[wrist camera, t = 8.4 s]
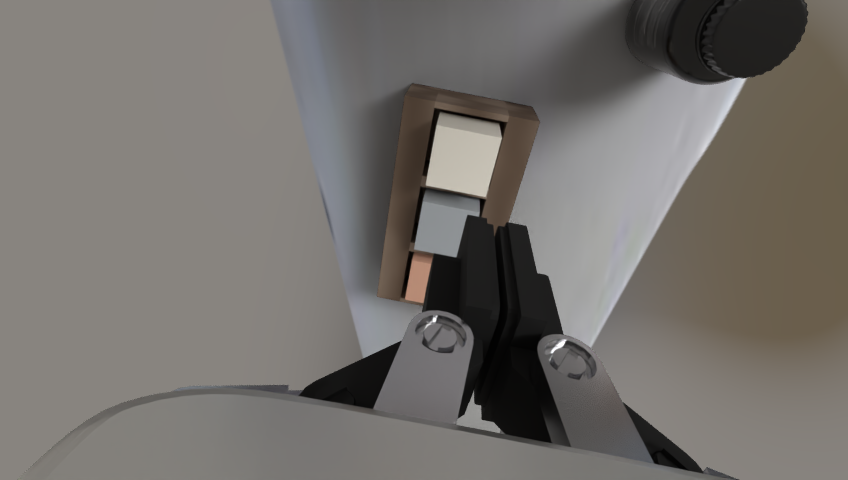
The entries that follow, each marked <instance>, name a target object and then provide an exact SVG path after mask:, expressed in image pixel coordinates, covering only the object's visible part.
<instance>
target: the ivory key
mask: <svg viewBox="0 0 848 480" xmlns="http://www.w3.org/2000/svg"><path fill="white" fill-rule="evenodd" d="M501 140H502V136H501V131H500V125H499V123H495V122H490V121H485V120H480V119H475V118H470V117H465V116H460V115H454V114H449V113H444V112H440V114H439V118H438V122H437V126H436V131H435V137H434V142H433V147H432V153H431V158H430V164H429V169H428V175H427V180H426V186H431V187H436V188H441V189H447V190H452V191H457V192H462V193H467V194H472V195H477V196H482V197H486V195H487V191H488V187H489V184H490V180H491V176H492V173H493V169H494V165H495V162H496V158H497V154H498V151H499V147H500V143H501Z"/></svg>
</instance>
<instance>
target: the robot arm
mask: <svg viewBox="0 0 848 480" xmlns="http://www.w3.org/2000/svg"><path fill="white" fill-rule="evenodd" d="M288 389H289V386H288V385H239V386H189V387H183V388H178V389H176V390H174V391H171V392H167V393H159V394H154V395H149V396H145V397H141V398H137V399H134V400H130V401H127V402H123V403H120V404H118V405H116V406H114V407H111V408H109V409H106V410H104V411H102V412H100V413H98V414H97V415H95V416H93V417H92V418H90V419H88V420H86V421H85V422H84V423H82V424H81V425H80V426H78V427H77V428H75V429H74V430H73V431H71V432H70V433H69V434H67V435H66V436H65V437H64V438H63V439H61V440H60V441H59V442H58V443H57V444H55V445H54V446H53V447H52V448H51V449H50V450H49V451H48V452H46V453H45V454H44V455H43V456H42V457H41V458H40V459H39V460H38V461H36V462H35V463H34V464H33V465H32V466H31V467H30V468H29V469H28V470H27V471H26V472H25V473H24V474H23V475H22V476H21V477H20V478H19V479H18V480H739V479H736V478H734V477H731V476H729V475H726V474H723V473H721V472H718V471H716V470H713V469H711V468H708V467H707V468H706V469H705V470H704V471H702V470H701V468H700V467H699V466H698V465H697V463H696V462H695V461H694V460H693V459H692V458H691V457H690V456H688V455H687V454H686V453H685V452H684V451H683V450H681V449H680V448H679V447H678V446H677V445H675V444H674V443H673V442H672V441H670V440H669V439H667V437H665V436H664V435H663V434H662V433H660V432H659V431H658V430H657V429H655V428H654V427H653V426H652V425H650V424H649V423H648V422H647V421H646V420H644V419H643V418H642V417H641V416H639V415H638V414H637V413H636V412H634V411H633V410H632V409H631V408H629V407H628V406H627V405H626V404H624V403H623V402H622V400H621V398H620V396H619V394H618V393H617V390H616V389H615V386H614V384H613V383H612V381H611V379H610V377H609V375H608V373H607V371H606V369H605V367H604V365H603V363H602V361H601V360H600V358H599V357H598V356H597V354H596V353H595V352H594V351H593V350H592V349H591V348H590V347H589V346H587V345H586V344H584V343H583V342H581V341H580V340H577V339H575V338H573V337H570V336H566V335H564V334H563V331H562V327H561V323H560V319H559V315H558V311H557V307H556V304H555V300H554V296H553V292H552V288H551V284H550V280H549V278H548V276H547V275H544V274H538V273H537V270H536V266H535V261H534V257H533V252H532V248H531V243H530V239H529V234H528V230H527V227H526V226H524V225H519V224H514V223H509V222H507V223H506V224H505V226H504V227H503V226H498V227H497V230H496V233H495V236H494V227H493V224H488V223H487V218H483V217H478V216H473V215H467V218H466V221H465V225H464V229H463V233H462V237H461V241H460V245H459V249H458V253H457V257H452V256H447V255H442V254H436V253H434V254H433V258H432V263H431V268H430V272H429V277H428V282H427V287H426V292H425V298H424V303H423V310H422V313H419V314H418V315H416V316H415V317H413V319H412V320H411V322H410V323H409V325H408V328H407V330H406V332H405V335H404V337H403V339H402V341H400V342H398V343H395V344H393V345H391V346H389V347H387V348H385V349H383V350H381V351H378V352H376V353H374V354H372V355H370V356H368V357H366V358H363V359H361V360H359V361H357V362H355V363H353V364H351V365H349V366H346V367H344V368H342V369H340V370H338V371H336V372H334V373H332V374H329V375H327V376H325V377H323V378H321V379H319V380H316V381H315V382H313V383H312V384H310V385H308V386H307V387H306V388H305V389H304V390H292V391H291V390H288ZM473 391H474V402H475V404H476V405H481V412H482V420H486V421H491V422H494V423H495V424H496V425H497V426H498V427H499V428H500V429H501V431H500V433H495V432H490V431H485V430H480V429H475V428H470V427H464V426H459V425H456V423H457V419H458V418H460V417H461V416H463V415H464V414H465V411H466V409H467V406H468V403H469V402H470V399H471V396H472V394H473Z"/></svg>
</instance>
